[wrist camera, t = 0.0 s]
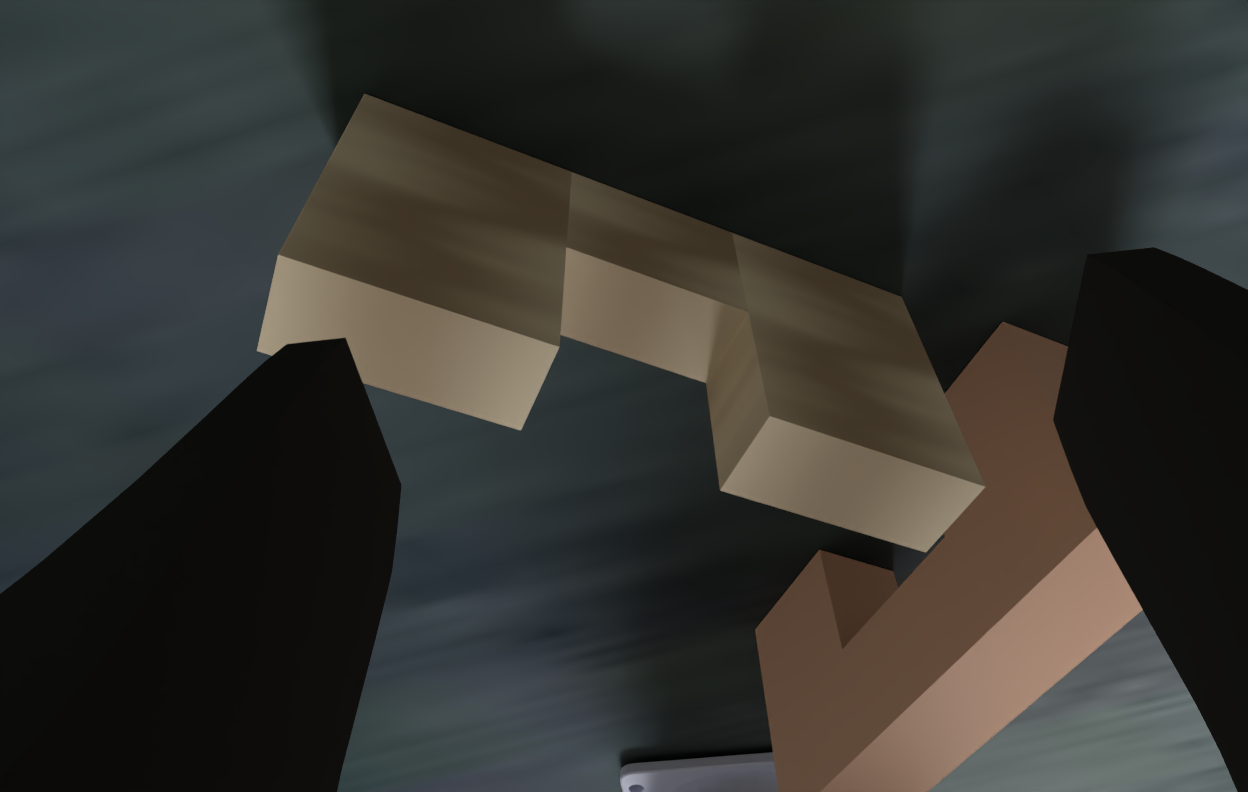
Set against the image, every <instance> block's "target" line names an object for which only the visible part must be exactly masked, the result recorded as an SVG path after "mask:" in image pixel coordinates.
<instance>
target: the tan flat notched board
mask: <svg viewBox="0 0 1248 792" xmlns="http://www.w3.org/2000/svg"><path fill="white" fill-rule="evenodd" d="M1067 350H1068V346H1065V345H1063V344H1060V343H1057V342H1055V341H1052V340H1050V339H1047V338H1044V337H1042V336H1039V335H1037V334H1034V333H1031V332H1029V331H1026V330H1024V329H1021V328H1018V327H1016V326H1013V325H1011V324H1008V323H1005V322H1002V323H1001V324H1000V325H999V327H998V328H997V329H996V330H995V332H994V333H993V334H992V335H991V336H990V338H989V339H988V340H987V341H986V343H985V344H984V345H983V346H982V348H981V349H980V350H979V351H978V353H977V354H976V355H975V356H974V358H973V359H972V360H971V361H970V363H969V364H968V365H967V366H966V368H965V369H964V370H963V371H962V373H961V374H960V375H959V376H958V378H957V379H956V380H955V381H954V383H953V384H952V385H951V386H950V388H949V389H948V390H947V391H946V393H945V396H946V399H947V401H948V403H949V405H950V408H951V410H952V412H953V414H954V417H955V419H956V421H957V423H958V426H959V428H960V430H961V433H962V435H963V437H964V439H965V442H966V444H967V446H968V448H969V451H970V453H971V455H972V457H973V460H974V462H975V464H976V466H977V469H978V471H979V473H980V476H981V478H982V480H983V482H984V485H985V488H984V489H983V490H982V491H981V492H980V494H979V495H978V496H977V497H976V498H975V499H974V500H973V501H972V502H971V503H970V505H969V506H968V507H967V508H966V509H965V510H964V511H963V512H962V513H961V514H960V516H959V517H958V518H957V519H956V520H955V521H954V522H953V523H952V524H951V525H950V527H949V528H948V529H947V530H946V531H945V532H944V535H945V537H944V538H943V540H942V541H941V542H940V543H939V544H938V545H937V546H936V547H935V548H934V549H933V551H932V552H931V553H930V554H929V555H928V556H927V557H926V558H925V559H924V560H923V561H922V563H921V564H920V565H919V566H918V567H917V568H916V569H915V570H914V571H913V572H912V574H911V575H910V576H909V577H908V578H907V579H906V580H905V581H904V582H903V583H902V585H901V586H900V587H899V588H898V585H897V582H896V578H895V575H894V572H893V571H891V570H887V569H884V568H880V567H877V566H873V565H870V564H867V563H863V562H860V561H856V560H853V559H850V558H846V557H843V556H839V555H836V554H832V553H829V552H826V551H822V550H819V551H818V552H817V553H816V554H815V556H814V557H813V558H812V559H811V561H810V562H809V563H808V564H807V566H806V567H805V568H804V569H803V571H802V572H801V573H800V574H799V576H798V577H797V578H796V579H795V581H794V582H793V583H792V584H791V586H790V587H789V588H788V589H787V591H786V592H785V593H784V594H783V596H782V597H781V598H780V599H779V600H778V602H777V603H776V604H775V605H774V607H773V608H772V609H771V610H770V612H769V613H768V614H767V615H766V617H765V618H764V619H763V620H762V622H761V623H760V624H759V625H758V627H757V628H756V629H755V633H756V640H757V647H758V653H759V660H760V667H761V674H762V681H763V688H764V695H765V701H766V708H767V715H768V722H769V729H770V736H771V742H772V749H773V756H774V763H775V770H776V777H777V783H778V790H779V792H928V791H929V790H930V789H931V788H933V787H934V786H935V785H936V784H937V783H939V782H940V781H941V780H942V779H943V778H944V777H946V776H947V775H948V774H949V773H950V772H952V771H953V770H954V769H955V768H956V767H957V766H959V765H960V764H961V763H962V762H963V761H965V760H966V759H967V758H968V757H969V756H970V755H972V754H973V753H974V752H975V751H976V750H978V749H979V748H980V747H981V746H982V745H983V744H985V743H986V742H987V741H988V740H989V739H991V738H992V737H993V736H994V735H995V734H996V733H998V732H999V731H1000V730H1001V729H1002V728H1004V727H1005V726H1006V725H1007V724H1008V723H1009V722H1011V721H1012V720H1013V719H1014V718H1015V717H1017V716H1018V715H1019V714H1020V713H1021V712H1022V711H1024V710H1025V709H1026V708H1027V707H1028V706H1030V705H1031V704H1032V703H1033V702H1034V701H1035V700H1037V699H1038V698H1039V697H1040V696H1041V695H1043V694H1044V693H1045V692H1046V691H1047V690H1048V689H1050V688H1051V687H1052V686H1053V685H1054V684H1056V683H1057V682H1058V681H1059V680H1060V679H1061V678H1063V677H1064V676H1065V675H1066V674H1067V673H1069V672H1070V671H1071V670H1072V669H1073V668H1074V667H1076V666H1077V665H1078V664H1079V663H1080V662H1082V661H1083V660H1084V659H1085V658H1086V657H1087V656H1089V655H1090V654H1091V653H1092V652H1093V651H1094V650H1096V649H1097V648H1098V647H1099V646H1100V645H1102V644H1103V643H1104V642H1105V641H1106V640H1107V639H1109V638H1110V637H1111V636H1112V635H1113V634H1115V633H1116V632H1117V631H1118V630H1119V629H1120V628H1122V627H1123V626H1124V625H1125V624H1126V623H1128V622H1129V621H1130V620H1131V619H1132V618H1133V617H1135V616H1136V615H1137V614H1138V613H1139V612H1141V611H1142V610H1143V609H1142V608H1141V606H1140V604H1139V602H1138V600H1137V599H1136V597H1135V595H1134V593H1133V592H1132V590H1131V588H1130V586H1129V585H1128V583H1127V581H1126V579H1125V577H1124V576H1123V574H1122V572H1121V570H1120V568H1119V567H1118V565H1117V563H1116V561H1115V559H1114V558H1113V556H1112V554H1111V552H1110V550H1109V549H1108V547H1107V545H1106V543H1105V541H1104V539H1103V538H1102V536H1101V534H1100V532H1099V530H1098V529H1097V527H1096V525H1095V523H1094V521H1093V519H1092V517H1091V516H1090V514H1089V512H1088V510H1087V508H1086V506H1085V504H1084V501H1083V499H1082V496H1081V494H1080V491H1079V489H1078V486H1077V484H1076V481H1075V479H1074V476H1073V474H1072V471H1071V469H1070V466H1069V463H1068V460H1067V458H1066V455H1065V452H1064V449H1063V447H1062V444H1061V441H1060V438H1059V436H1058V433H1057V430H1056V427H1055V424H1054V422H1053V417H1054V412H1055V407H1056V403H1057V398H1058V393H1059V388H1060V383H1061V379H1062V374H1063V369H1064V364H1065V359H1066V354H1067Z"/></svg>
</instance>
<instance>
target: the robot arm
mask: <svg viewBox="0 0 1248 792" xmlns="http://www.w3.org/2000/svg"><path fill="white" fill-rule="evenodd" d="M1053 422H1054V424H1055V427H1056V430H1057V433H1058V436H1059V438H1060V441H1061V444H1062V447H1063V449H1064V452H1065V455H1066V458H1067V460H1068V463H1069V466H1070V469H1071V471H1072V474H1073V476H1074V479H1075V481H1076V484H1077V486H1078V489H1079V491H1080V494H1081V496H1082V499H1083V501H1084V504H1085V506H1086V508H1087V510H1088V512H1089V514H1090V516H1091V517H1092V519H1093V521H1094V523H1095V525H1096V527H1097V529H1098V530H1099V532H1100V534H1101V536H1102V538H1103V539H1104V541H1105V543H1106V545H1107V547H1108V549H1109V550H1110V552H1111V554H1112V556H1113V558H1114V559H1115V561H1116V563H1117V565H1118V567H1119V568H1120V570H1121V572H1122V574H1123V576H1124V577H1125V579H1126V581H1127V583H1128V585H1129V586H1130V588H1131V590H1132V592H1133V593H1134V595H1135V597H1136V599H1137V600H1138V602H1139V604H1140V606H1141V608H1142V609H1143V611H1144V613H1145V615H1146V616H1147V618H1148V620H1149V622H1150V623H1151V625H1152V627H1153V629H1154V630H1155V632H1156V634H1157V636H1158V638H1159V639H1160V641H1161V643H1162V645H1163V646H1164V648H1165V650H1166V652H1167V654H1168V655H1169V657H1170V659H1171V661H1172V662H1173V664H1174V666H1175V668H1176V669H1177V671H1178V673H1179V675H1180V677H1181V678H1182V680H1183V682H1184V684H1185V685H1186V687H1187V689H1188V691H1189V692H1190V694H1191V696H1192V698H1193V700H1194V701H1195V703H1196V705H1197V707H1198V709H1199V711H1200V713H1201V715H1202V717H1203V719H1204V721H1205V723H1206V725H1207V727H1208V728H1209V730H1210V732H1211V734H1212V736H1213V738H1214V740H1215V742H1216V744H1217V746H1218V748H1219V750H1220V752H1221V754H1222V757H1223V759H1224V761H1225V764H1226V766H1227V768H1228V770H1229V773H1230V775H1231V777H1232V780H1233V782H1234V784H1235V787H1236V789H1237V791H1238V792H1248V290H1247V289H1245V288H1243V287H1241V286H1239V285H1237V284H1235V283H1233V282H1231V281H1228V280H1226V279H1224V278H1222V277H1220V276H1218V275H1216V274H1214V273H1212V272H1210V271H1208V270H1206V269H1204V268H1201V267H1199V266H1197V265H1195V264H1193V263H1191V262H1188V261H1186V260H1184V259H1182V258H1179V257H1177V256H1175V255H1172V254H1170V253H1167V252H1165V251H1162V250H1159V249H1157V248H1154V247H1153V248H1144V249H1135V250H1126V251H1117V252H1108V253H1099V254H1090V255H1087V258H1086V263H1085V268H1084V273H1083V277H1082V282H1081V287H1080V292H1079V297H1078V301H1077V306H1076V311H1075V316H1074V321H1073V326H1072V330H1071V335H1070V340H1069V345H1068V350H1067V354H1066V359H1065V364H1064V369H1063V374H1062V379H1061V383H1060V388H1059V393H1058V398H1057V403H1056V407H1055V412H1054V417H1053ZM400 494H401V483H400V480H399V478H398V475H397V472H396V470H395V467H394V464H393V462H392V459H391V457H390V454H389V451H388V449H387V446H386V443H385V441H384V438H383V435H382V433H381V430H380V427H379V425H378V422H377V419H376V417H375V414H374V411H373V409H372V406H371V404H370V401H369V398H368V396H367V393H366V390H365V388H364V385H363V382H362V380H361V377H360V374H359V372H358V369H357V366H356V364H355V361H354V359H353V356H352V353H351V351H350V348H349V345H348V343H347V340H346V338H337V339H328V340H319V341H310V342H301V343H292V344H286V345H285V346H284V347H282V348H281V349H280V350H279V351H277V352H276V353H275V354H274V355H272V356H271V357H270V358H269V359H268V360H266V361H265V362H264V363H263V364H262V365H261V366H260V367H258V368H257V369H256V370H255V371H254V372H253V373H252V374H251V375H250V376H248V377H247V378H246V379H245V380H244V381H243V382H242V383H241V384H240V385H239V386H238V387H236V388H235V389H234V390H233V391H232V392H231V393H230V394H229V395H228V396H227V397H226V398H225V399H224V400H223V401H222V402H220V403H219V404H218V405H217V406H216V407H215V408H214V409H213V410H212V411H211V412H210V413H209V414H208V415H207V416H206V417H205V418H203V419H202V420H201V421H200V422H199V423H198V424H197V425H196V426H195V427H194V428H193V429H192V430H191V431H189V432H188V433H187V434H186V435H185V436H184V437H183V438H182V439H181V440H180V441H179V442H178V443H176V444H175V445H174V446H173V447H172V448H171V449H170V450H169V451H168V452H167V453H166V454H165V455H164V456H162V457H161V458H160V459H159V460H158V461H157V462H156V463H155V464H154V465H153V466H152V467H151V468H149V469H148V470H147V471H146V472H145V473H144V474H143V475H142V476H141V477H140V478H139V479H137V480H136V481H135V482H134V483H133V484H132V485H131V486H129V487H128V488H127V489H126V490H125V491H124V492H122V493H121V494H120V495H119V496H118V497H117V498H115V499H114V500H113V501H112V502H111V503H110V504H108V505H107V506H106V507H105V508H104V509H103V510H101V511H100V512H99V513H98V514H97V515H96V516H94V517H93V518H92V519H91V520H90V521H89V522H87V523H86V524H85V525H84V526H83V527H82V528H80V529H79V530H78V531H77V532H76V533H75V534H73V535H72V536H71V537H70V538H69V539H68V540H66V541H65V542H64V543H63V544H62V545H61V546H59V547H58V548H57V549H56V550H55V551H54V552H52V553H51V554H50V555H49V556H48V557H47V558H45V559H44V560H43V561H42V562H40V563H39V564H38V565H37V566H35V567H34V568H33V569H32V570H30V571H29V572H28V573H27V574H25V575H24V576H23V577H22V578H20V579H19V580H18V581H16V582H15V583H14V584H13V585H11V586H10V587H9V588H7V589H6V590H5V591H4V592H2V593H1V594H0V792H337V788H338V784H339V779H340V774H341V770H342V766H343V762H344V758H345V755H346V751H347V747H348V743H349V739H350V735H351V731H352V728H353V724H354V720H355V716H356V712H357V708H358V704H359V700H360V697H361V693H362V689H363V685H364V681H365V677H366V673H367V669H368V666H369V662H370V658H371V654H372V650H373V646H374V642H375V638H376V634H377V630H378V626H379V622H380V618H381V614H382V610H383V606H384V602H385V598H386V594H387V590H388V586H389V582H390V577H391V573H392V567H393V559H394V551H395V543H396V535H397V525H398V515H399V504H400ZM620 783H621V787H622V791H623V792H779V790H778V783H777V777H776V770H775V763H774V756H773V752H768V753H756V754H743V755H731V756H718V757H705V758H693V759H680V760H667V761H655V762H642V763H631V764H627V765H625V766H623V767H622V768H621V770H620Z"/></svg>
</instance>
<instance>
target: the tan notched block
mask: <svg viewBox="0 0 1248 792" xmlns="http://www.w3.org/2000/svg"><path fill="white" fill-rule="evenodd" d="M560 335H563V336H566V337H569V338H572V339H575V340H578V341H581V342H584V343H587V344H590V345H593V346H596V347H599V348H602V349H605V350H608V351H611V352H614V353H617V354H620V355H623V356H626V357H629V358H632V359H635V360H638V361H641V362H644V363H647V364H650V365H653V366H656V367H659V368H662V369H665V370H668V371H671V372H674V373H677V374H680V375H683V376H686V377H689V378H692V379H695V380H698V381H701V382H704V383H706V387H707V395H708V403H709V410H710V418H711V426H712V433H713V441H714V449H715V457H716V464H717V472H718V480H719V488H720V491H723V492H726V493H730V494H733V495H736V496H740V497H743V498H746V499H750V500H753V501H756V502H760V503H763V504H766V505H770V506H773V507H776V508H780V509H783V510H786V511H790V512H793V513H796V514H799V515H803V516H806V517H809V518H813V519H816V520H819V521H823V522H826V523H829V524H833V525H836V526H839V527H843V528H846V529H849V530H853V531H856V532H859V533H863V534H866V535H869V536H872V537H876V538H879V539H882V540H886V541H889V542H892V543H896V544H899V545H902V546H906V547H909V548H912V549H916V550H919V551H922V552H927V551H928V550H929V549H930V547H931V546H932V545H933V544H934V543H935V542H936V541H937V540H938V539H939V538H940V536H941V535H942V534H943V533H944V532H945V531H946V530H947V529H948V528H949V527H950V525H951V524H952V523H953V522H954V521H955V520H956V519H957V518H958V517H959V516H960V514H961V513H962V512H963V511H964V510H965V509H966V508H967V507H968V506H969V505H970V503H971V502H972V501H973V500H974V499H975V498H976V497H977V496H978V495H979V494H980V492H981V491H982V490H983V489H984V488H985V485H984V482H983V480H982V478H981V476H980V473H979V471H978V469H977V466H976V464H975V462H974V460H973V457H972V455H971V453H970V451H969V448H968V446H967V444H966V442H965V439H964V437H963V435H962V433H961V430H960V428H959V426H958V423H957V421H956V419H955V417H954V414H953V412H952V410H951V408H950V405H949V403H948V401H947V399H946V396H945V394H944V392H943V390H942V387H941V385H940V383H939V380H938V378H937V376H936V374H935V371H934V369H933V367H932V365H931V362H930V360H929V358H928V356H927V353H926V351H925V349H924V347H923V344H922V342H921V340H920V337H919V335H918V333H917V331H916V328H915V326H914V324H913V322H912V319H911V317H910V315H909V313H908V310H907V308H906V306H905V304H904V301H903V299H902V297H900V296H898V295H895V294H892V293H890V292H887V291H885V290H882V289H879V288H877V287H874V286H871V285H869V284H866V283H863V282H861V281H858V280H856V279H853V278H850V277H848V276H845V275H842V274H840V273H837V272H834V271H832V270H829V269H826V268H824V267H821V266H819V265H816V264H813V263H811V262H808V261H805V260H803V259H800V258H797V257H795V256H792V255H790V254H787V253H784V252H782V251H779V250H776V249H774V248H771V247H768V246H766V245H763V244H760V243H758V242H755V241H753V240H750V239H747V238H745V237H742V236H739V235H737V234H734V233H731V232H729V231H726V230H724V229H721V228H718V227H716V226H713V225H710V224H708V223H705V222H702V221H700V220H697V219H695V218H692V217H689V216H687V215H684V214H681V213H679V212H676V211H673V210H671V209H668V208H665V207H663V206H660V205H658V204H655V203H652V202H650V201H647V200H644V199H642V198H639V197H636V196H634V195H631V194H629V193H626V192H623V191H621V190H618V189H615V188H613V187H610V186H607V185H605V184H602V183H599V182H597V181H594V180H592V179H589V178H586V177H584V176H581V175H578V174H576V173H573V172H570V171H568V170H565V169H563V168H560V167H557V166H555V165H552V164H549V163H547V162H544V161H541V160H539V159H536V158H533V157H531V156H528V155H526V154H523V153H520V152H518V151H515V150H512V149H510V148H507V147H504V146H502V145H499V144H497V143H494V142H491V141H489V140H486V139H483V138H481V137H478V136H475V135H473V134H470V133H467V132H465V131H462V130H460V129H457V128H454V127H452V126H449V125H446V124H444V123H441V122H438V121H436V120H433V119H431V118H428V117H425V116H423V115H420V114H417V113H415V112H412V111H409V110H407V109H404V108H402V107H399V106H396V105H394V104H391V103H388V102H386V101H383V100H380V99H378V98H375V97H372V96H370V95H367V94H365V93H364V95H363V97H362V99H361V101H360V102H359V104H358V106H357V108H356V110H355V112H354V114H353V116H352V117H351V119H350V121H349V123H348V125H347V127H346V129H345V131H344V132H343V134H342V136H341V138H340V140H339V142H338V144H337V146H336V147H335V149H334V151H333V153H332V155H331V157H330V159H329V160H328V162H327V164H326V166H325V168H324V170H323V172H322V174H321V175H320V177H319V179H318V181H317V183H316V185H315V187H314V189H313V190H312V192H311V194H310V196H309V198H308V200H307V202H306V204H305V205H304V207H303V209H302V211H301V213H300V215H299V217H298V218H297V220H296V222H295V224H294V226H293V228H292V230H291V232H290V233H289V235H288V237H287V239H286V241H285V243H284V245H283V247H282V248H281V250H280V252H279V254H278V258H277V262H276V267H275V271H274V276H273V280H272V285H271V289H270V294H269V298H268V303H267V307H266V312H265V316H264V321H263V326H262V330H261V335H260V339H259V344H258V348H257V351H259V352H262V353H265V354H269V355H274V354H275V353H276V352H277V351H279V350H280V349H281V348H282V347H284V346H285V345H286V344H292V343H301V342H310V341H319V340H328V339H337V338H346V340H347V343H348V345H349V348H350V351H351V353H352V356H353V359H354V361H355V364H356V366H357V369H358V372H359V374H360V377H361V380H362V382H363V383H365V384H368V385H371V386H375V387H378V388H381V389H385V390H388V391H391V392H395V393H398V394H401V395H405V396H408V397H411V398H415V399H418V400H421V401H425V402H428V403H431V404H434V405H438V406H441V407H444V408H448V409H451V410H454V411H458V412H461V413H464V414H468V415H471V416H474V417H478V418H481V419H484V420H488V421H491V422H494V423H498V424H501V425H504V426H507V427H511V428H514V429H517V430H521V429H522V427H523V425H524V423H525V420H526V418H527V416H528V414H529V412H530V410H531V408H532V405H533V403H534V401H535V399H536V397H537V395H538V392H539V390H540V388H541V386H542V384H543V382H544V379H545V377H546V375H547V373H548V371H549V369H550V367H551V364H552V362H553V360H554V358H555V356H556V354H557V351H558V349H559V347H560Z"/></svg>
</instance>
